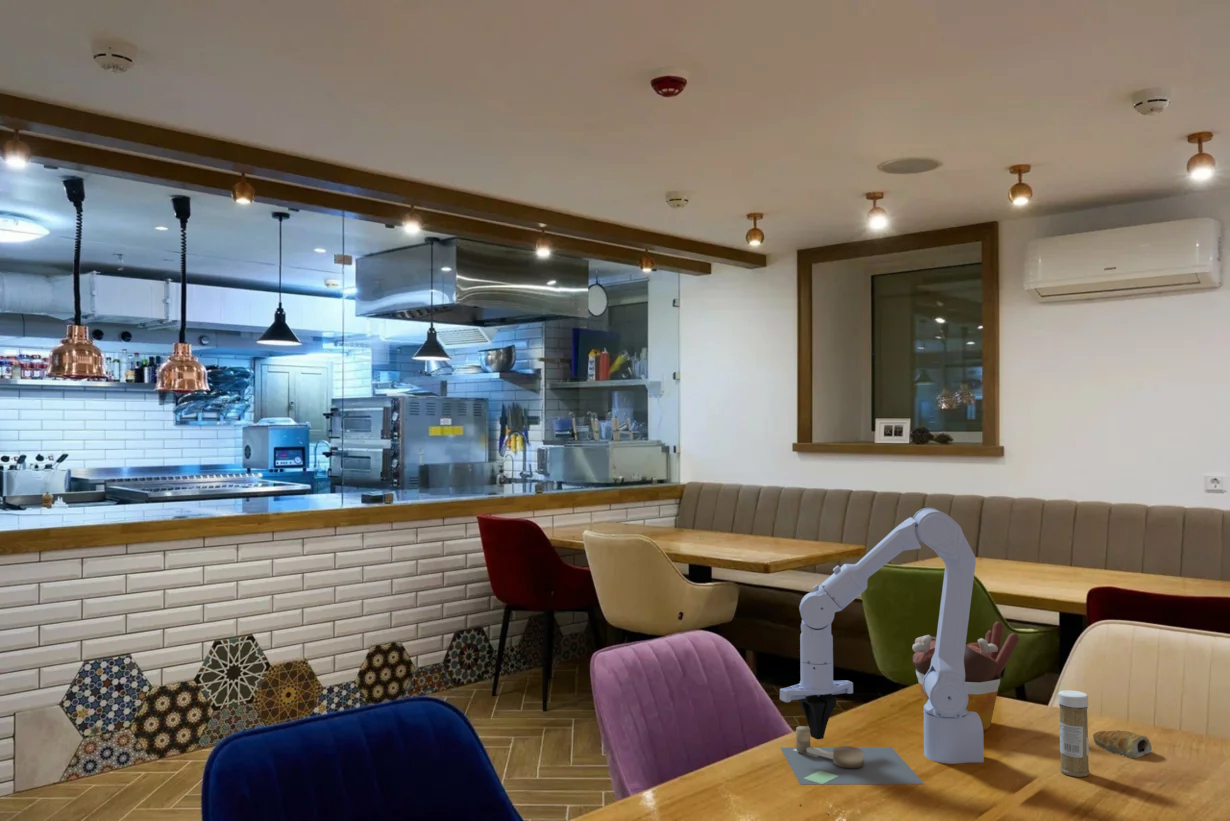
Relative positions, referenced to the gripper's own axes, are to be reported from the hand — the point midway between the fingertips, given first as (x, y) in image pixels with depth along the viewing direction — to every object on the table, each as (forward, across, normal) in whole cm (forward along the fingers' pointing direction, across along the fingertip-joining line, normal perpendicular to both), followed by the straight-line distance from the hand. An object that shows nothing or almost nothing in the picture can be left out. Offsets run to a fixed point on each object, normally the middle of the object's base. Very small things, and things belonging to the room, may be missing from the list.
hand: (817, 737), depth 169 cm
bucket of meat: (+3, -37, -3) cm, 37 cm away
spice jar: (+3, -34, +25) cm, 43 cm away
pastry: (+4, -52, +20) cm, 56 cm away
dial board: (+3, 0, +9) cm, 9 cm away
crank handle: (+2, +1, +5) cm, 6 cm away
